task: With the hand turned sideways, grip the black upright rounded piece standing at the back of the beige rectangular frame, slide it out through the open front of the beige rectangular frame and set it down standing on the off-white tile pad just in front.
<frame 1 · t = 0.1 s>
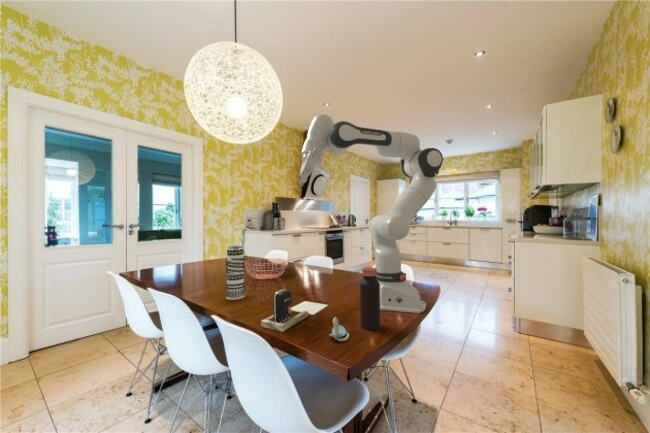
hand: (302, 183, 107), 52 cm above the table, tool tilted 20°, fingers open, 8 cm apart
pacifier: (339, 338, 82), on the table
decorative candle: (235, 297, 126), on the table
tile pad: (308, 308, 109), on the table
bottle: (370, 327, 90), on the table
beige rectangular frame: (286, 320, 96), on the table
black upright rounded piece: (283, 323, 94), resting in beige rectangular frame
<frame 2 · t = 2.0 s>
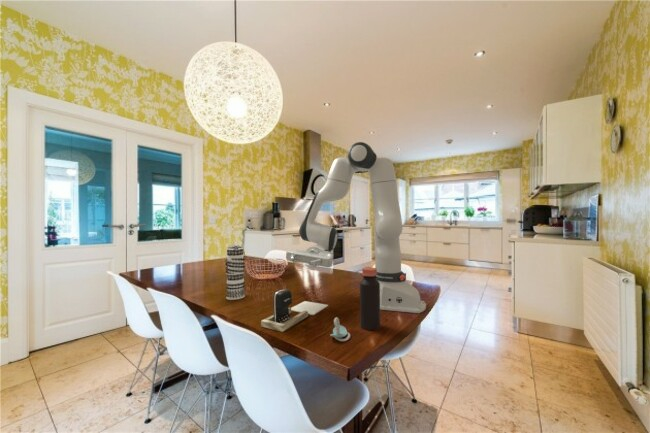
hand: (301, 261, 103), 21 cm above the table, tool horizontal, fingers open, 8 cm apart
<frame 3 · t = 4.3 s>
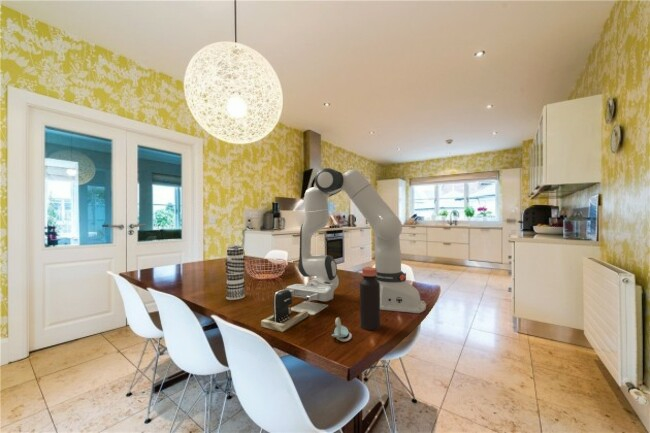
hand: (297, 297, 103), 7 cm above the table, tool horizontal, fingers open, 8 cm apart
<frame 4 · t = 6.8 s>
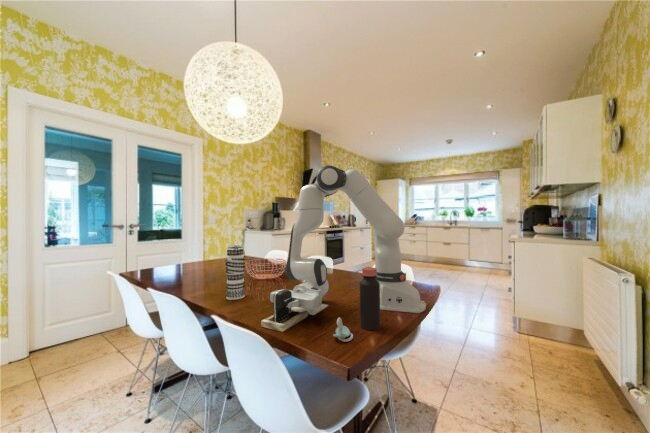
hand: (281, 304, 94), 7 cm above the table, tool horizontal, fingers closed on black upright rounded piece, 4 cm apart
black upright rounded piece: (283, 323, 94), resting in beige rectangular frame, touching gripper
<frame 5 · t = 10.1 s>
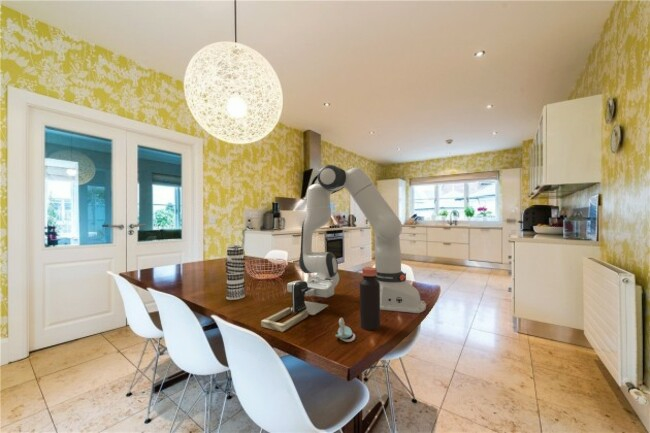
hand: (299, 293, 103), 8 cm above the table, tool horizontal, fingers closed on black upright rounded piece, 4 cm apart
black upright rounded piece: (300, 311, 103), point 1 cm above the table, touching gripper
when the fingers open (7 cm above the table, at t = 12.6 s): black upright rounded piece stays where it is, resting on tile pad.
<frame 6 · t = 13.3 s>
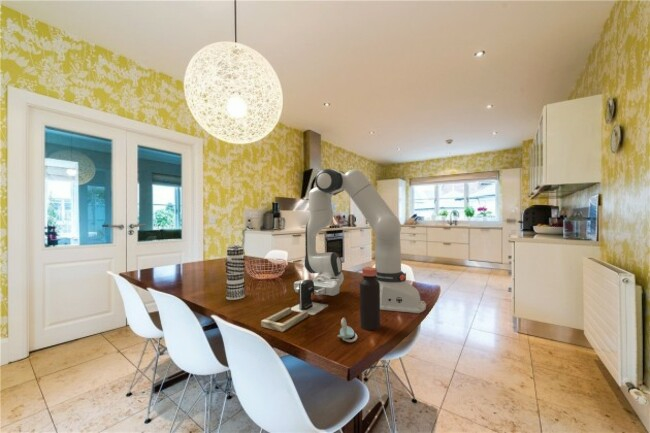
hand: (306, 291, 108), 7 cm above the table, tool horizontal, fingers open, 8 cm apart
black upright rounded piece: (307, 308, 108), resting on tile pad
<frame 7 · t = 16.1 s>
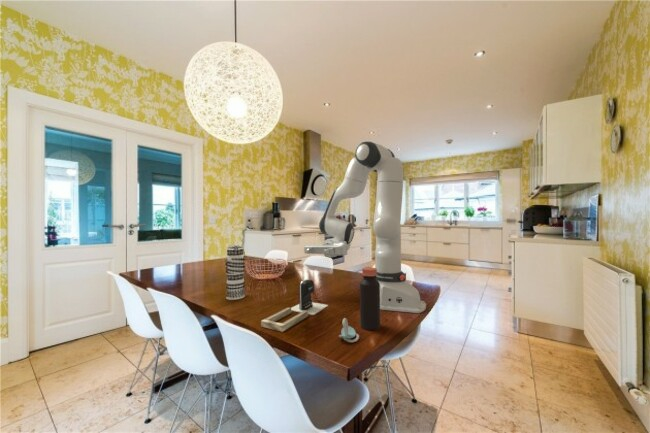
hand: (316, 251, 115), 23 cm above the table, tool horizontal, fingers open, 8 cm apart
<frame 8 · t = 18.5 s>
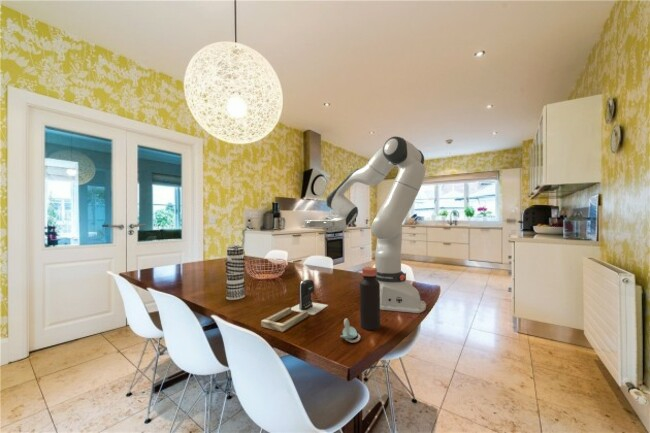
hand: (316, 224, 119), 35 cm above the table, tool horizontal, fingers open, 8 cm apart
at the end: black upright rounded piece inside the target area (0.7 cm from its centre), resting on tile pad; black upright rounded piece tilted 0°; the gripper is holding nothing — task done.
